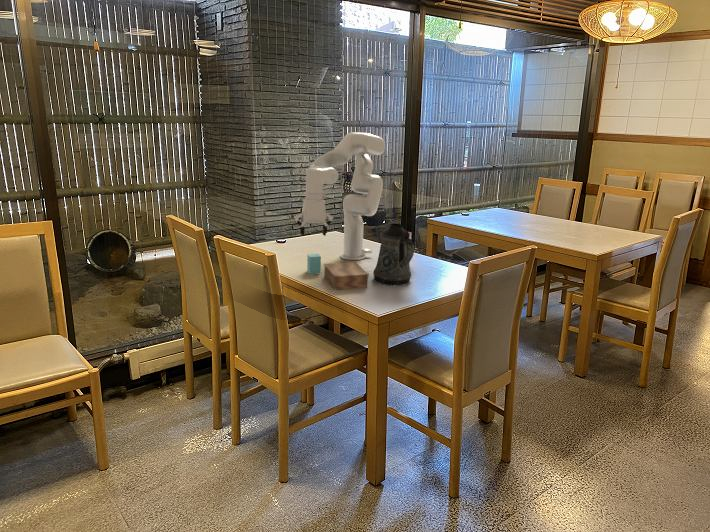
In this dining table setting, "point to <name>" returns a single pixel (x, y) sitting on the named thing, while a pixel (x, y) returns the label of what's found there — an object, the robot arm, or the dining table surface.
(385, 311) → the dining table surface
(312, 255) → the teal block
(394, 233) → the beer stein
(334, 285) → the walnut box
